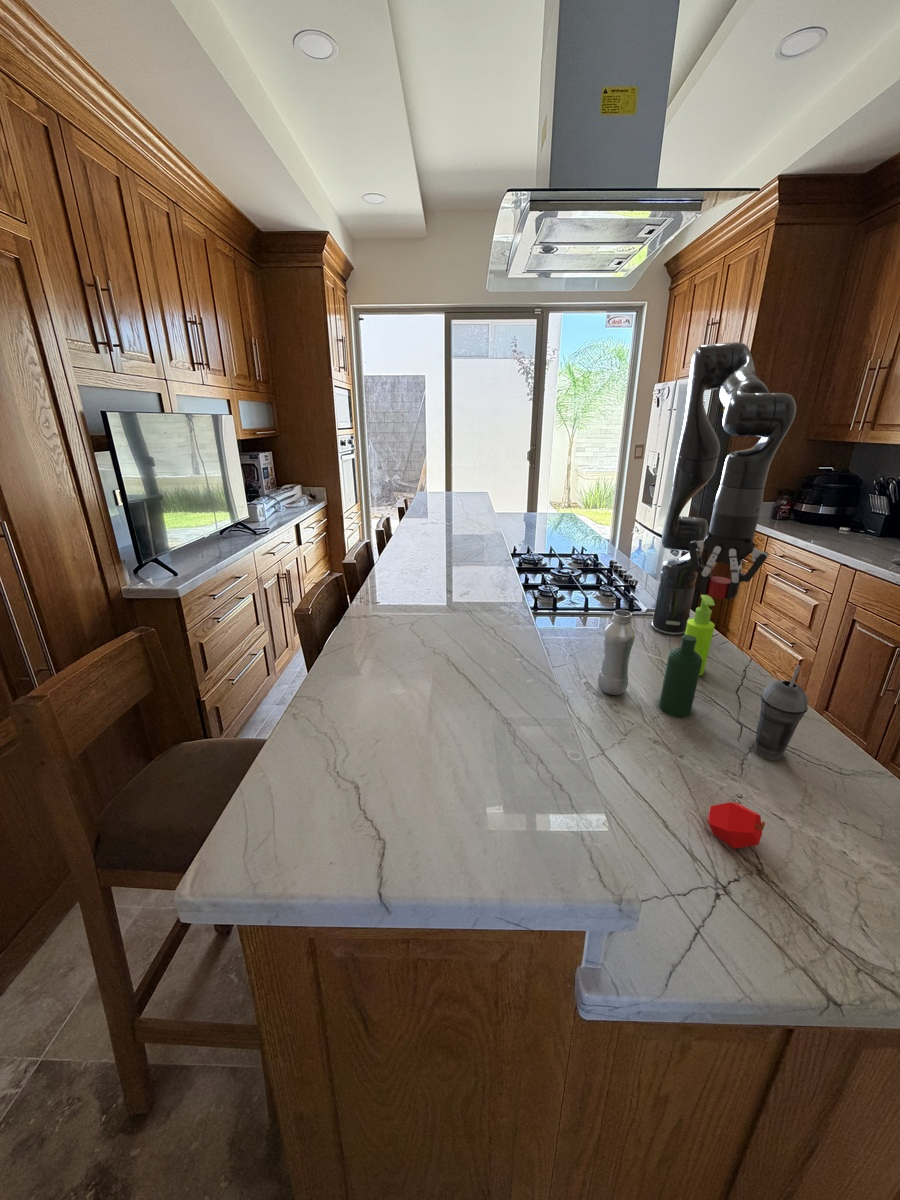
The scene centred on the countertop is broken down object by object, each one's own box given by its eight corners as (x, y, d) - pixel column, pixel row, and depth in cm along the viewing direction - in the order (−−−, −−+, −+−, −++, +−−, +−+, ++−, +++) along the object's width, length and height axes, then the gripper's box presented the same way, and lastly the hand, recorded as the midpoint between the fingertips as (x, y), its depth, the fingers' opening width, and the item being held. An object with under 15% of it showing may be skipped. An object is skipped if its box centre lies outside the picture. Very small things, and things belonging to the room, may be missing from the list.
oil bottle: (663, 696, 111) (677, 628, 104) (693, 706, 107) (709, 636, 100) (655, 709, 106) (669, 639, 99) (686, 720, 102) (702, 648, 95)
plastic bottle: (628, 700, 109) (641, 620, 101) (597, 696, 111) (608, 618, 103) (624, 684, 115) (637, 608, 107) (595, 681, 116) (605, 605, 109)
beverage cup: (782, 743, 96) (812, 654, 88) (796, 768, 89) (829, 675, 81) (741, 737, 97) (766, 649, 90) (752, 761, 91) (780, 669, 83)
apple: (697, 804, 75) (757, 816, 69) (711, 788, 79) (768, 797, 74) (703, 848, 75) (763, 863, 69) (717, 829, 79) (774, 842, 74)
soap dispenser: (681, 676, 118) (697, 601, 110) (676, 662, 124) (690, 590, 117) (707, 679, 117) (725, 604, 109) (700, 665, 123) (717, 592, 115)
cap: (714, 590, 99) (718, 575, 97) (732, 596, 95) (736, 581, 94) (701, 593, 97) (705, 578, 96) (719, 600, 94) (723, 584, 92)
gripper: (784, 512, 88) (761, 599, 94) (700, 502, 96) (685, 582, 103) (777, 520, 82) (753, 611, 89) (689, 508, 91) (673, 592, 98)
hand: (716, 595), depth 96 cm, fingers closed on cap, 4 cm apart
